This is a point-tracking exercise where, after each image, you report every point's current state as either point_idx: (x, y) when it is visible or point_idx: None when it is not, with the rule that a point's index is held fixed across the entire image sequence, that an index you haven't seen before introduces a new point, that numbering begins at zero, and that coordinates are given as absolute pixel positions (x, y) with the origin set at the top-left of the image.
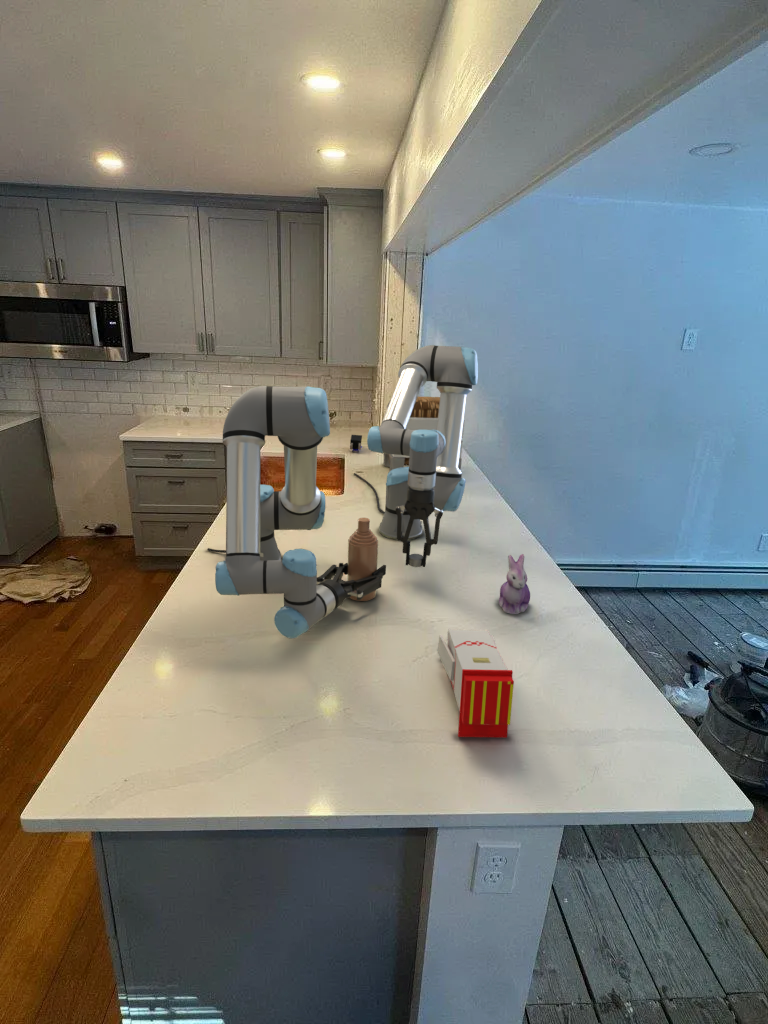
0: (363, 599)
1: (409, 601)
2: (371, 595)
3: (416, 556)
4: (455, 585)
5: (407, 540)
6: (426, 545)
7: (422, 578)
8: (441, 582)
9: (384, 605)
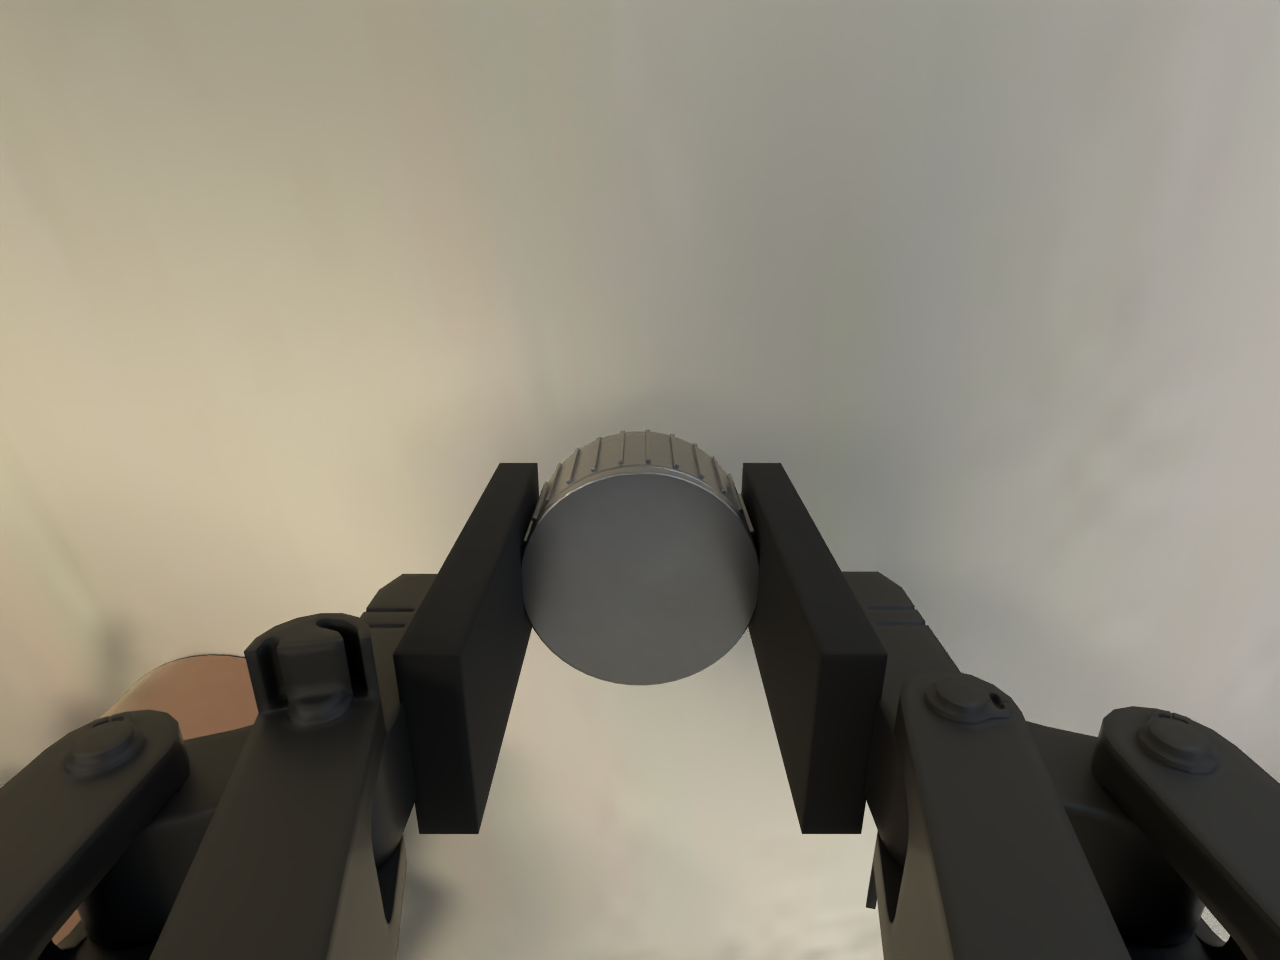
0: None
1: (638, 775)
2: None
3: (644, 580)
4: (1067, 424)
5: (398, 906)
6: (867, 900)
7: (718, 346)
8: (924, 392)
9: (466, 855)
